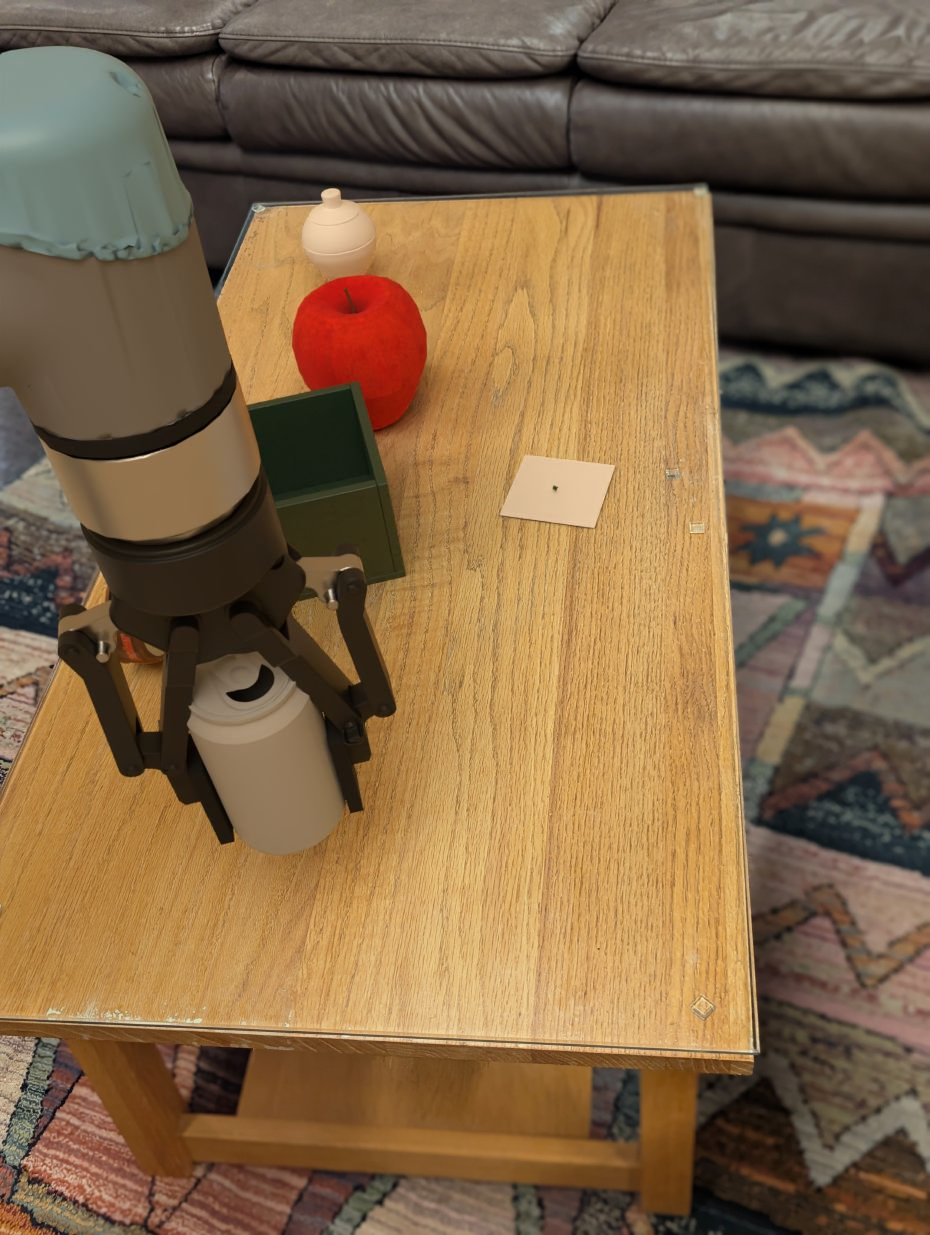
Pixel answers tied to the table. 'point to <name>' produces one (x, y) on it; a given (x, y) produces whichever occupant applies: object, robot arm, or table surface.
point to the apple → (362, 342)
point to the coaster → (558, 491)
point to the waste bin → (328, 477)
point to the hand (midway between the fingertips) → (289, 807)
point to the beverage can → (265, 754)
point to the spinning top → (339, 237)
